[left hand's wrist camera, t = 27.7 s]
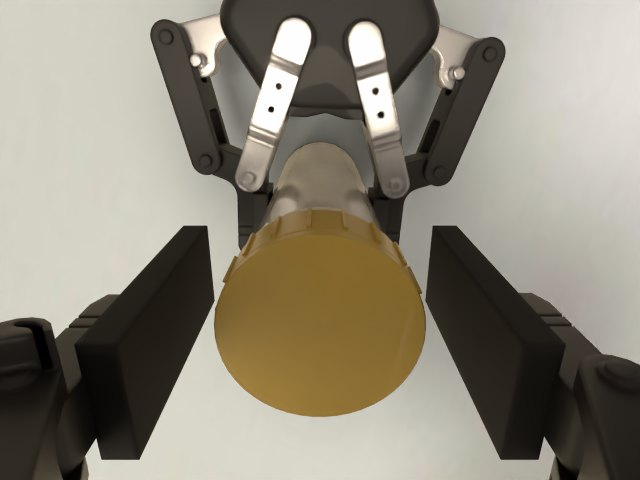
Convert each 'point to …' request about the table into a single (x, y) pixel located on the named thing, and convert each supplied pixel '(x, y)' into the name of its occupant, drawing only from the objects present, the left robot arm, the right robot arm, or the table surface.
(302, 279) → the lid
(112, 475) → the table surface
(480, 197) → the table surface
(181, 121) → the right robot arm
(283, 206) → the jar
